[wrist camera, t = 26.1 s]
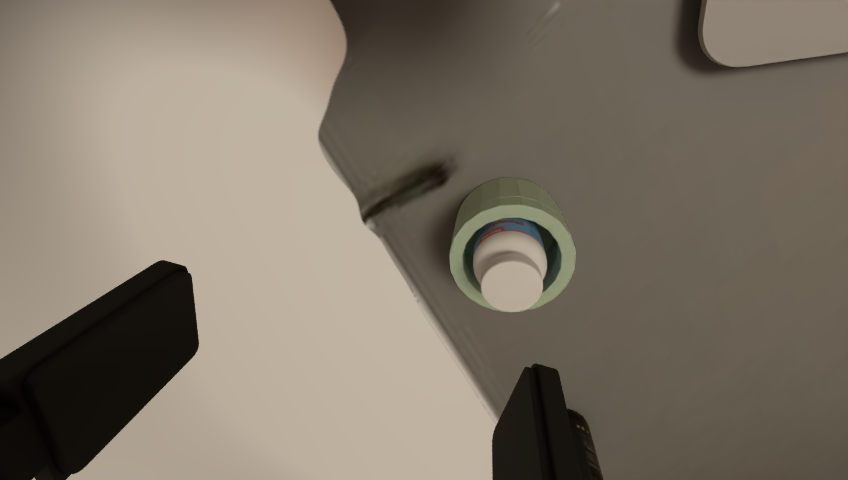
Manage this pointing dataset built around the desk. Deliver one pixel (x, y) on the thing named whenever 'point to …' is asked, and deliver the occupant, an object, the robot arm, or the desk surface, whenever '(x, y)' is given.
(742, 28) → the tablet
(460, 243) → the green cylindrical sleeve
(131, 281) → the robot arm
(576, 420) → the supplement bottle
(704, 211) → the desk surface
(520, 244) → the pill bottle
